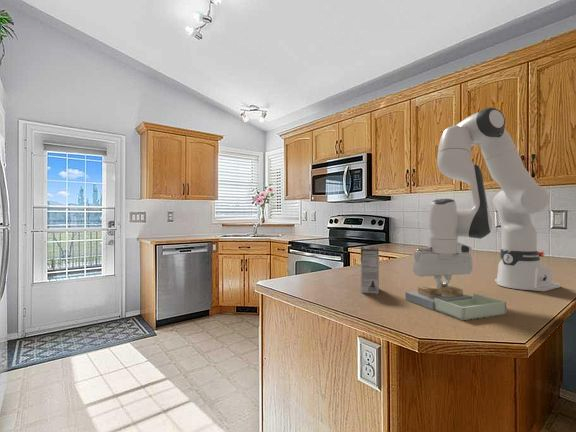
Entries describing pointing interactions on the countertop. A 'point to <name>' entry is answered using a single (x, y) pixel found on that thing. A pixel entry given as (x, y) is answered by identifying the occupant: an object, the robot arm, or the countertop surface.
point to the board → (431, 299)
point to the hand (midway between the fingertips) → (442, 288)
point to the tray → (471, 307)
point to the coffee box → (369, 270)
